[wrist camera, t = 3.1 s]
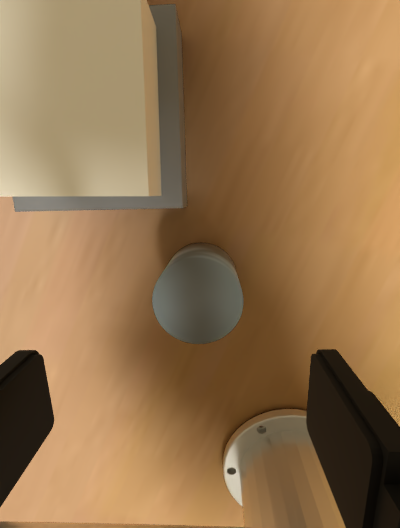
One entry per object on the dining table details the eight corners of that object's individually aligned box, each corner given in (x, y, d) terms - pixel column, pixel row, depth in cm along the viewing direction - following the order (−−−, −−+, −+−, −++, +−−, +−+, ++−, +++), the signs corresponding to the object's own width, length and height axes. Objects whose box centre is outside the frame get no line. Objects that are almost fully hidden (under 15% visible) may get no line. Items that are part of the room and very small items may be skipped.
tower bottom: (182, 38, 21) (175, 4, 18) (187, 205, 24) (182, 208, 20) (23, 46, 22) (-18, 15, 18) (46, 208, 25) (15, 211, 21)
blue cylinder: (236, 241, 24) (243, 257, 18) (236, 309, 26) (243, 344, 20) (164, 243, 25) (149, 258, 19) (168, 310, 26) (155, 343, 20)
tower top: (156, 26, 18) (139, -20, 14) (161, 195, 20) (148, 196, 16) (-3, 31, 18) (-61, -12, 14) (20, 195, 21) (-25, 196, 17)
